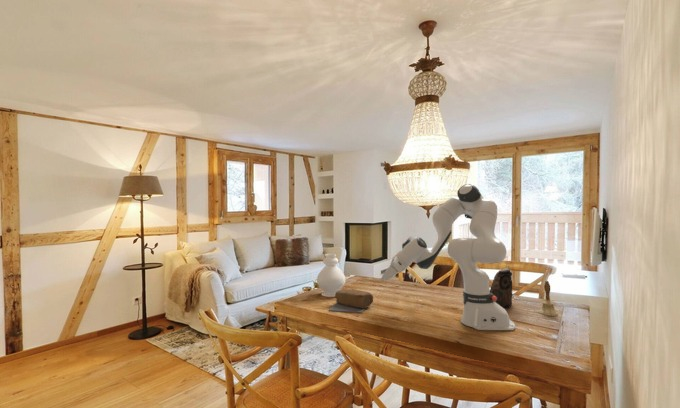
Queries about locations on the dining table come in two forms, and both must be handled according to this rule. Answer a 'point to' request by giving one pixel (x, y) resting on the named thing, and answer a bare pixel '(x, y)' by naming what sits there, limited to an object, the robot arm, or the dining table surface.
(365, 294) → the block
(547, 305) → the hand bell
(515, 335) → the dining table surface
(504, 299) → the owl
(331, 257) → the decorative vase
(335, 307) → the mat
